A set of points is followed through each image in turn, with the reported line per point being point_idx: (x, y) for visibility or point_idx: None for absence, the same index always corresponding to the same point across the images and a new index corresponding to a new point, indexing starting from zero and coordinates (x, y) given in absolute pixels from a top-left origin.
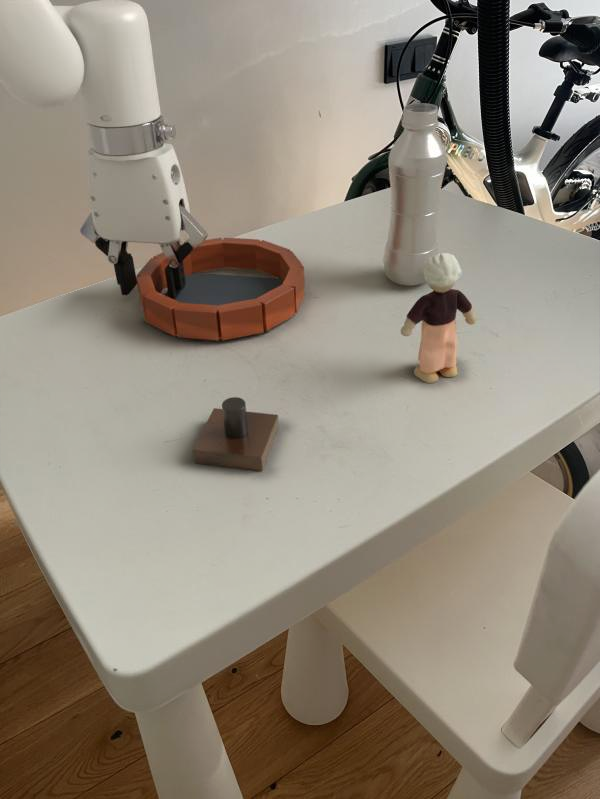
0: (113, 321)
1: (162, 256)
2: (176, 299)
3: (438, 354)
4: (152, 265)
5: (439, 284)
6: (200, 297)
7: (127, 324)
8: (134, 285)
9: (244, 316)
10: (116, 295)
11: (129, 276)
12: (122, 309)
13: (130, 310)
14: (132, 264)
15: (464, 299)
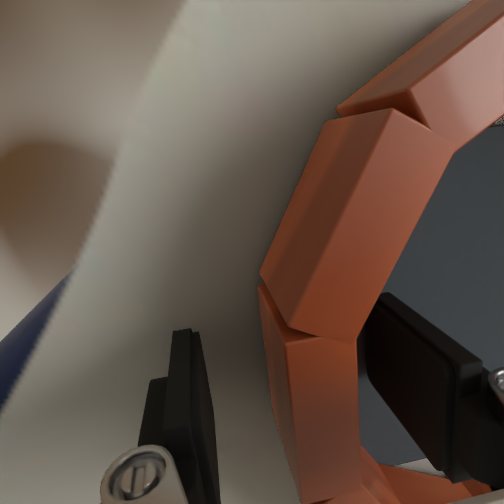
0: (233, 495)
1: (339, 307)
2: None
3: None
4: (331, 409)
5: None
6: (456, 320)
7: (282, 491)
8: (203, 357)
9: None
10: (140, 374)
11: (210, 420)
12: (220, 437)
13: (248, 433)
14: (203, 402)
15: None
